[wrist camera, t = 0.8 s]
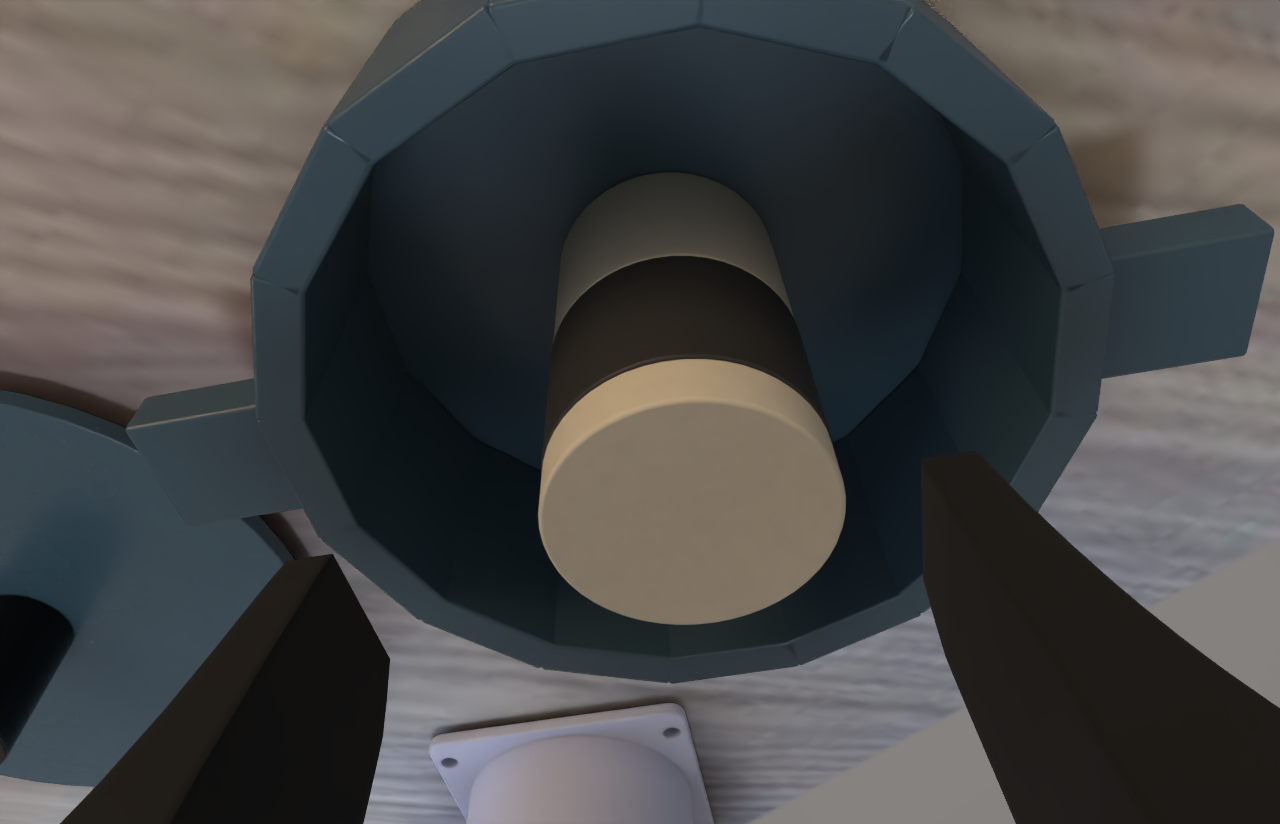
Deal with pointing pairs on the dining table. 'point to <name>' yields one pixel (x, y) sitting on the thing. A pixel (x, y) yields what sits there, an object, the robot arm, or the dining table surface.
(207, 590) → the lid
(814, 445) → the cylinder
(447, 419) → the pot
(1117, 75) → the dining table surface
